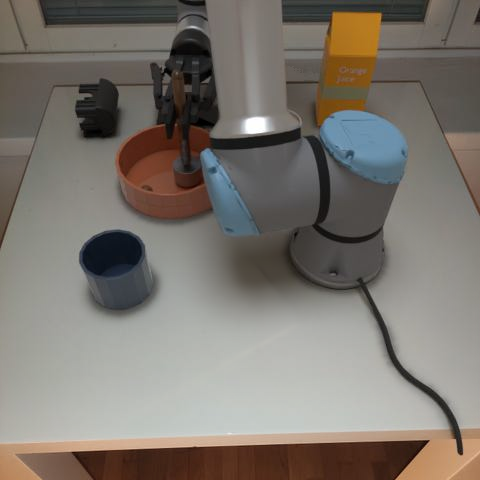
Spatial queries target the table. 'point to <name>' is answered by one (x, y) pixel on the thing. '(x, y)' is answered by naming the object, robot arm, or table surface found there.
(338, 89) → the orange juice
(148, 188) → the meatball
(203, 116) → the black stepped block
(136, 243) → the crock
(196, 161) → the ladle
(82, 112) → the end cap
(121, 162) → the bowl
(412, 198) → the table surface
